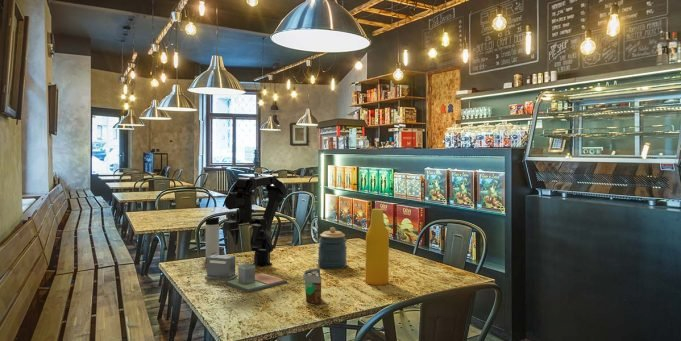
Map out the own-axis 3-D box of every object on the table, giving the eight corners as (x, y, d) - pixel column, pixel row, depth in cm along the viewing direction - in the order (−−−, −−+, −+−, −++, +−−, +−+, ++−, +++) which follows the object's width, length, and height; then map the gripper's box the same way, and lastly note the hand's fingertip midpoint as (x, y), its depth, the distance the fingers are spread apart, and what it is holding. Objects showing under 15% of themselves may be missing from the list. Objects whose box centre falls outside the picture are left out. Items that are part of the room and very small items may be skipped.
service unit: (213, 274, 195) (213, 254, 194) (237, 276, 192) (237, 255, 192) (204, 278, 188) (204, 257, 188) (229, 280, 185) (229, 259, 185)
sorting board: (262, 275, 194) (262, 272, 194) (287, 282, 183) (287, 280, 183) (224, 283, 181) (224, 281, 181) (248, 292, 170) (248, 289, 170)
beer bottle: (361, 280, 187) (362, 208, 186) (382, 278, 191) (383, 207, 189) (370, 286, 179) (371, 211, 178) (392, 284, 182) (393, 210, 181)
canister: (314, 268, 206) (314, 228, 205) (322, 261, 218) (322, 224, 218) (343, 270, 203) (343, 230, 202) (349, 263, 215) (349, 225, 215)
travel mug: (216, 260, 219) (216, 218, 218) (203, 259, 221) (203, 217, 220) (222, 257, 225) (221, 216, 225) (209, 256, 227) (209, 215, 226)
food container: (302, 295, 167) (302, 268, 166) (319, 295, 167) (319, 267, 167) (302, 307, 155) (302, 277, 154) (321, 306, 155) (321, 277, 155)
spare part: (248, 280, 182) (248, 262, 181) (255, 282, 179) (255, 264, 178) (238, 282, 178) (238, 264, 178) (245, 285, 175) (244, 266, 175)
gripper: (252, 203, 212) (252, 237, 213) (215, 207, 198) (216, 243, 199) (267, 205, 204) (267, 241, 205) (230, 209, 191) (230, 247, 191)
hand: (245, 243), depth 200 cm, fingers open, 9 cm apart
